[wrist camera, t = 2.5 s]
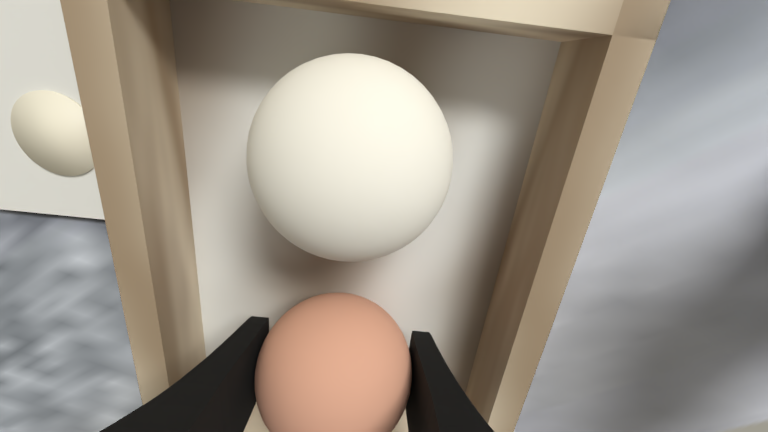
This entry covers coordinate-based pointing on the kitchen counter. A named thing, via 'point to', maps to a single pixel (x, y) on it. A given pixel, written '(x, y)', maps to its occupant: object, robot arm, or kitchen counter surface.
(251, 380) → the robot arm
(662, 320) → the kitchen counter surface
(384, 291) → the two-well rack
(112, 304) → the kitchen counter surface
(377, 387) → the terracotta ball
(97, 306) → the kitchen counter surface
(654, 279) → the kitchen counter surface
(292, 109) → the cream ball
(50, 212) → the card
